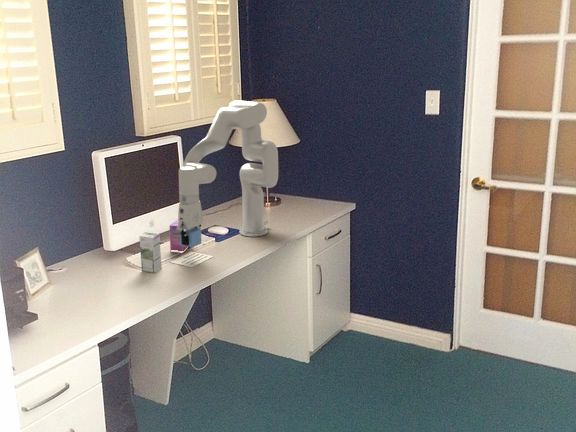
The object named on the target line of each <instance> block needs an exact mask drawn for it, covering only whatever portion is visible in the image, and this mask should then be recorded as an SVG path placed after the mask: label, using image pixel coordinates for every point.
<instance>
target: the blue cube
mask: <svg viewBox="0 0 576 432" xmlns="http://www.w3.org/2000/svg"><path fill="white" fill-rule="evenodd" d="M185 230H186V229H184V231H185ZM188 236H189V245H188V246H187V245H182V240H181V235H180V245H182V246H187V247H190V248H194V247H197V246H199V245H201V244H202V229H201V228H200V229H198V228H192V229H189V230H188Z"/></svg>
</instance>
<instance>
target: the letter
mask: <svg viewBox="0 0 576 432" xmlns="http://www.w3.org/2000/svg"><path fill="white" fill-rule="evenodd" d="M213 258H214V256H213V255H208V254H204V253H199V252H195V251H194V252H193V251H190V252H188V253H186V254H184V255H182V256H180V257H177V258H176V259H174V260H171V261H169V263H171V264H175V265H179V266H183V267H188V268H194V267H196V266H199V265H200V264H202V263H204V262H206V261H208V260H210V259H213Z"/></svg>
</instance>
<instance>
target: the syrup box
mask: <svg viewBox="0 0 576 432" xmlns="http://www.w3.org/2000/svg"><path fill="white" fill-rule="evenodd" d="M160 235H161V234H160V232H159V233H158V232H152V231H145V232H143V233H142V234H140V235H139V246H140V248H139V249H140V263H141V271H142V272H143V273H151V274H155V273H157V272H159V271H160V270H162V255H161V254H162V253H161V236H160Z"/></svg>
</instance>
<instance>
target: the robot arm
mask: <svg viewBox="0 0 576 432" xmlns="http://www.w3.org/2000/svg"><path fill="white" fill-rule="evenodd" d="M267 109H268V108H267V107H266V105H265V104H264V103H263V102H260V101H259V102H258V101H250V100H248V101H247V100H233V101H231V102H230V103H229V105H228V106H227V107H226V106H225V107H220V108H219V109H218V110H217V112H216V114H215V117H214V119H213V120H212V123H211V125H210V128H209V130H208V132H207V134H206V136H205V137H204V138H203V139H202V140H200V141H198V143H196V144H195V145H194V146H193V147H192V148H191V149H190V150H189V152H188V153H187V154H186V157H185V158H184V161H183V163H182V166H181V167H180V168H179V169H178V190H179V191H178V194H179V195H178V196H179V199H178V200H179V203H178V213H177V214H178V219H177V220H178V223H179V224H178V226H177V228H176V229H177V231H178V232H179V233H180V235H181V240H182V245H187V246H188V245H189V236H188V230H189V229H192V228H198V229H201V227H202V224H203V222H204V217H203V209H202V208H203V207H202V203H201V199H200V189H199V187H200V185H202V184H211V183H212V182H214V181H215V179H216V177H217V170H216V168H215V166H213V165H211V164H207V163H201V161H202V159H203V158H204V157H206V156H207V155H209V154H211V153H214V152H217V151H219V150H222V149H224V148H225V147H226V146H227V143H228V142H229V139H230V136H231V134H232V132H233V130H240V132H241V154H242V156H243V158H244V159H245V160H246V161H249V162H247V163H244V164H243V165H242V166H241V167H240V170H239V180H240V185H241V195H242V199H241V201H242V203H241V204H242V207H241V208H242V227H241V228H240V229H239V234H240V235H242V236H244V237H261V236H265V235H267V234H268V229H267V228H266V227H265V226H266V225H267V224H269V220H268V219H265V211H264V209H265V201H264V200H265V194H264V191H263V188H268V189H269V188H274V187H275V186H277V184H278V181H279V150H278V147H277V145H276V143H274V142H273V141H271V140H264V139H263V138H262V137H263V136H262V130H261V129H262V128H261V125H260V124H261V123H263V122H264V120H266V119H267V118H266V117H267V115H268V110H267ZM250 161H251V162H250ZM253 162H256V163H253ZM260 163H262V164H260ZM184 229H186V230H185V231H184Z"/></svg>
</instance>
